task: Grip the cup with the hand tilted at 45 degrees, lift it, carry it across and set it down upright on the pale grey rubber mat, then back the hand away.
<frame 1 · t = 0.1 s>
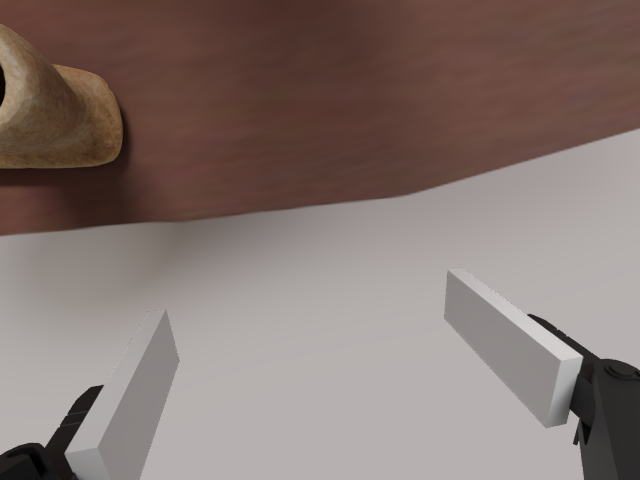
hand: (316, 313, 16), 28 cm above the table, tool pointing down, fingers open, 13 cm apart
stone cup: (47, 108, 35), on the table
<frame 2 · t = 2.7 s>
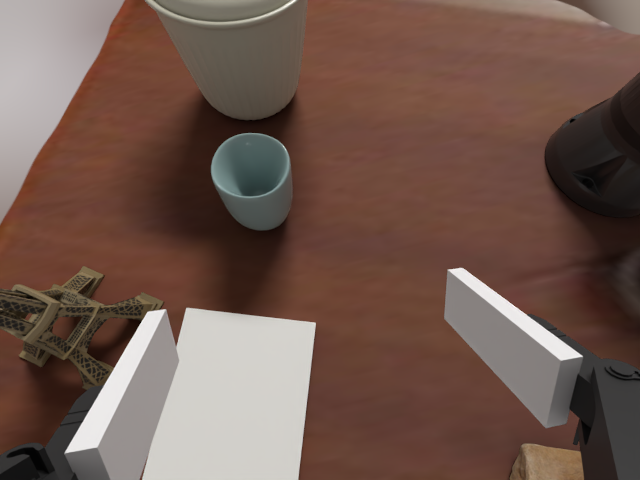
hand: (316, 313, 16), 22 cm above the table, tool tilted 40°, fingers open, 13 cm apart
eiffel tower: (96, 328, 36), on the table
cup: (264, 211, 42), on the table
mat: (237, 396, 34), on the table
canister: (252, 92, 49), on the table
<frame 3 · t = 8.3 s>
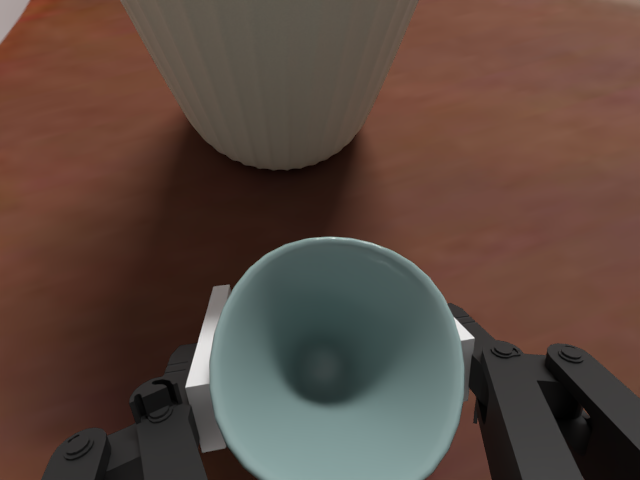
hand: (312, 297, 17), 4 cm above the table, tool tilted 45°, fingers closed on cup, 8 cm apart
cup: (317, 373, 19), on the table, touching gripper
canister: (280, 116, 27), on the table
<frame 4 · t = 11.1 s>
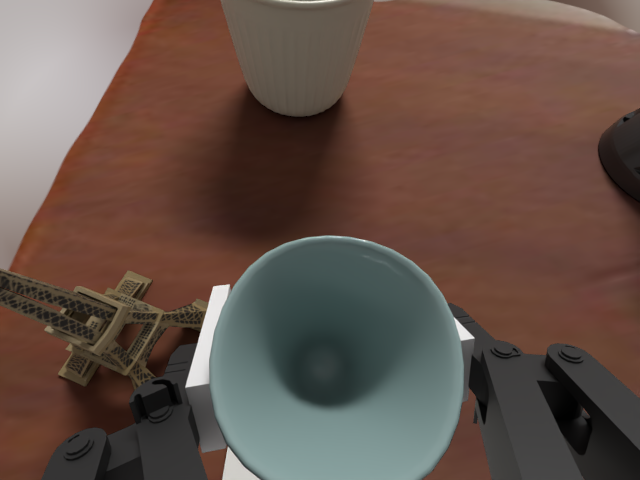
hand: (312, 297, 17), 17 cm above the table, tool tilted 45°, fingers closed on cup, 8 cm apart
eiffel tower: (146, 340, 32), on the table
cup: (317, 373, 19), point 13 cm above the table, touching gripper
mat: (314, 413, 30), on the table
canister: (296, 89, 47), on the table
when the fingers open (6 cm above the table, at t = 14.2 s): cup drops 1 cm, resting on mat.
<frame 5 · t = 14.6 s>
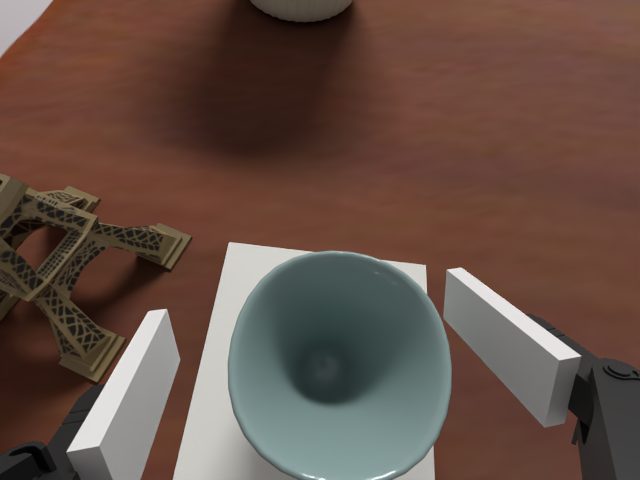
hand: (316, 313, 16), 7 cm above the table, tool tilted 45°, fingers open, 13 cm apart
eiffel tower: (85, 274, 23), on the table
cup: (320, 375, 20), point 1 cm above the table, touching mat
mat: (315, 375, 21), on the table
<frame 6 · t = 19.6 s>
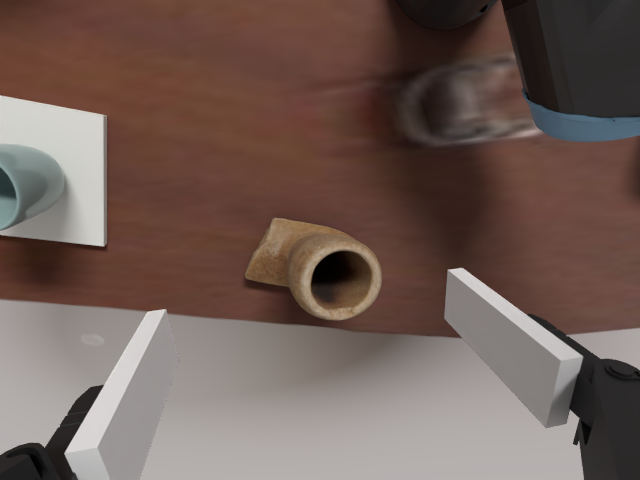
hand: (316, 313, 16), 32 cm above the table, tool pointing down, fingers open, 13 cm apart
cup: (39, 174, 39), point 1 cm above the table, touching mat
mat: (41, 173, 40), on the table
stone cup: (305, 246, 49), on the table
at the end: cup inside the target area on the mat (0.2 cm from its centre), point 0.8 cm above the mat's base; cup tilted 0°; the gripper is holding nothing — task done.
